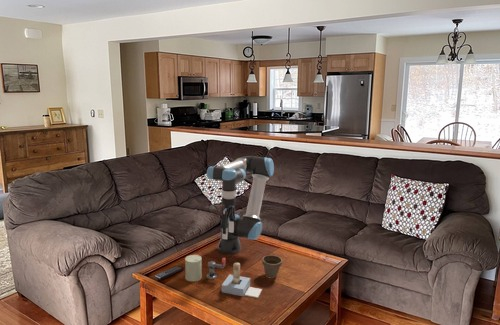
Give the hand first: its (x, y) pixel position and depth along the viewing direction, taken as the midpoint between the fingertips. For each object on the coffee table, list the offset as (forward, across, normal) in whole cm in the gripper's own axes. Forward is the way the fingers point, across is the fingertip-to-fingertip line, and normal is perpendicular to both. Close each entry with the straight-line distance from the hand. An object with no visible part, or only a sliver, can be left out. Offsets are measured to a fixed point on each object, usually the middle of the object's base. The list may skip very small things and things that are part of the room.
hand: (227, 235), depth 210 cm
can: (+24, +10, -16) cm, 31 cm away
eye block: (+23, +13, +10) cm, 29 cm away
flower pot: (+24, -7, +24) cm, 35 cm away
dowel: (+23, +13, +10) cm, 29 cm away
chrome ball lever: (+17, +6, -4) cm, 19 cm away
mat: (+23, +14, +20) cm, 34 cm away
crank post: (+23, +6, -7) cm, 25 cm away
